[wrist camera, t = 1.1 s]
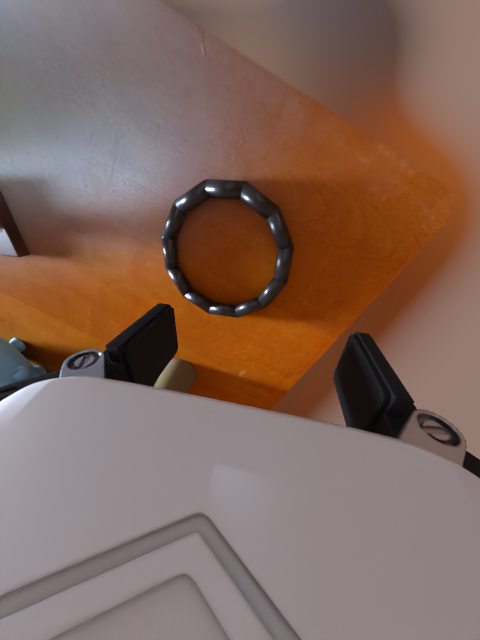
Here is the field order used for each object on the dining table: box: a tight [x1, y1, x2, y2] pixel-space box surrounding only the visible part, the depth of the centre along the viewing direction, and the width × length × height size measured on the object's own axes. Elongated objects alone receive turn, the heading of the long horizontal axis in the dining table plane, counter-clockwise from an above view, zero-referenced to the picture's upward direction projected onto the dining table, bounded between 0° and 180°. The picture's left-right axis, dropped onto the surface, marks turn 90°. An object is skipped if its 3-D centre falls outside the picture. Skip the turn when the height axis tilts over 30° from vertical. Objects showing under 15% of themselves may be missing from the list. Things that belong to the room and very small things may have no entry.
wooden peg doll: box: [154, 359, 197, 393], centre depth 32 cm, size 6×6×11 cm
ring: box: [161, 179, 293, 317], centre depth 24 cm, size 15×15×2 cm
